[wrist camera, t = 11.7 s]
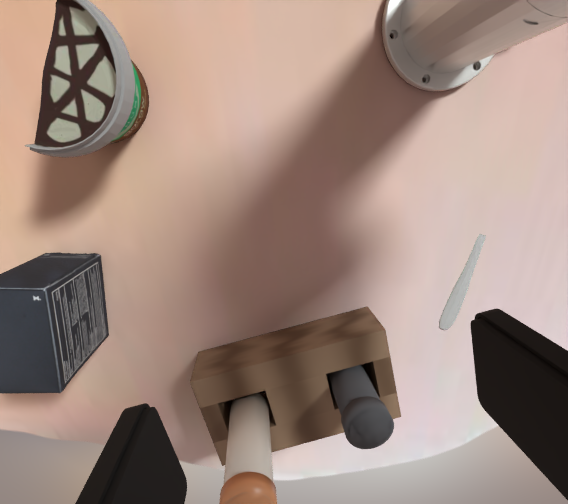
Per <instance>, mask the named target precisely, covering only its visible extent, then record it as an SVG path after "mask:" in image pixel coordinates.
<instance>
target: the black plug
mask: <svg viewBox="0 0 568 504" xmlns="http://www.w3.org/2000/svg"><path fill="white" fill-rule="evenodd" d="M327 376H328V379H329V382H330V385H331V388H332V391H333V394H334V396H335V399H336V402H337V405H338V408H339V411H340V414H341V423H342V426H343V429H344V432H345V435H346V438H347V440H348V441H349V443H350V444H352V445H353V446H355V447H357V448H361V449H371V448H375V447H378V446H380V445H382V444H383V443H385V442H386V441H387V440H388V439H389V438H390V436H391V434H392V432H393V429H394V422H393V419H392V417H391V415H390V413H389V411H388V409H387V407H386V406H385V404H384V403H383V402H382V401H381V400H380V398H379V397H378V395H377V393H376V391H375V389H374V387H373V385H372V383H371V381H370V379H369V378H368V376H367V374H366V372H365V370H364V368H363V366H362V364H361V365H357V366H354V367H350V368H346V369H343V370H339V371H335V372H332V373H328V374H327Z"/></svg>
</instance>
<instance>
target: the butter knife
mask: <svg viewBox="0 0 568 504" xmlns="http://www.w3.org/2000/svg"><path fill="white" fill-rule="evenodd" d="M485 237H486V235H482V234H479V236H478V238H477V240H476V242H475V244H474V247H473V250H472V252H471V254H470V256H469V259H468V261H467V263H466V266H465V268H464V270H463V272H462V273H461V275H460V277H459V279H458V281H457V283H456V285H455V286H454V289H453V291H452V293H451V295H450V297H449V299H448V301H447V304H446V306H445V308H444V310H443V313H442V315H441V318H440V321H439V328H440V329H443V330H448V329H449V328H450V327H451V326H452V325H453V323H454V321H455V319H456V317H457V315H458V313H459V310H460V308H461V305H462V303H463V300H464V298H465V295H466V293H467V290H468V287H469V283H470V280H471V277H472V274H473V271H474V268H475V265H476V263H477V260H478V257H479V254H480V251H481V249H482V246H483V243H484V241H485Z"/></svg>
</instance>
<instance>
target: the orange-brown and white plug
mask: <svg viewBox="0 0 568 504" xmlns="http://www.w3.org/2000/svg"><path fill="white" fill-rule="evenodd" d="M220 504H277V499H276V487H275V485H274V483H273V470H272V454H271V438H270V421H269V406H268V402H267V400H266V399H265V398H264V397H263V396H262V395H260V394H257V393H254V394H251V395H247V396H243V397H239V398H236V399H234V401H233V402H232V404H231V409H230V420H229V431H228V442H227V453H226V464H225V476H224V485H223V487H222V489H221V494H220Z"/></svg>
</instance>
